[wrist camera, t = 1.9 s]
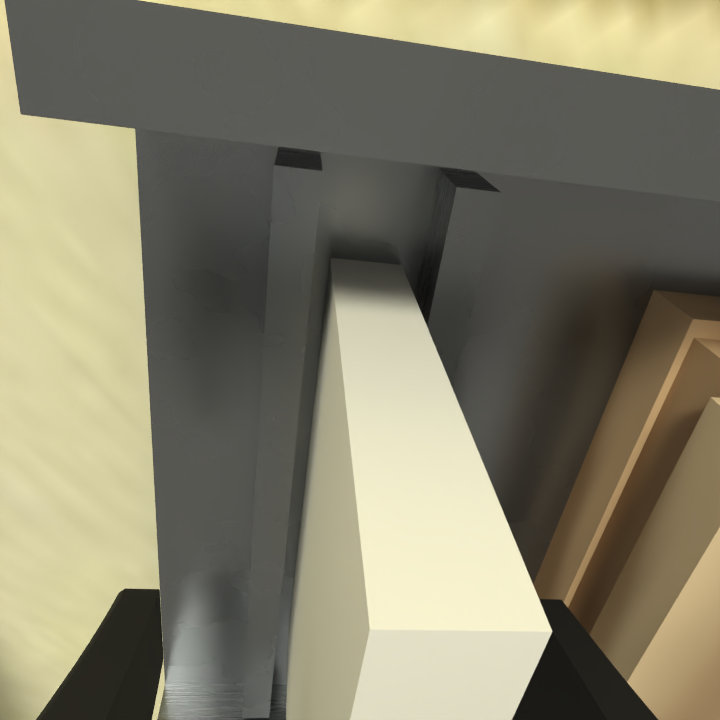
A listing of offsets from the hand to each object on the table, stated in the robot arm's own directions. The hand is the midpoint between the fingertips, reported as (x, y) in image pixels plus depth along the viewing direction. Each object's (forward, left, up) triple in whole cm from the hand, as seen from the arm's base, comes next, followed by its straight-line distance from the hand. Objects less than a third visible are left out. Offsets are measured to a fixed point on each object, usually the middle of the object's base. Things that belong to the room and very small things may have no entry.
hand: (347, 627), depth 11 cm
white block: (0, 0, -4) cm, 4 cm away
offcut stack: (+8, 0, -4) cm, 9 cm away
